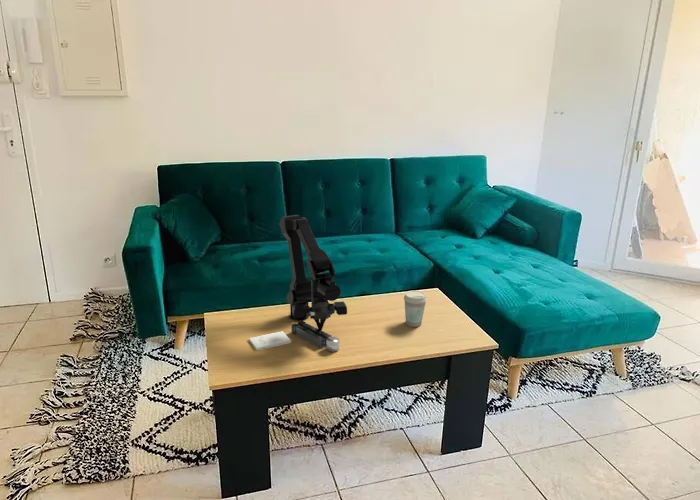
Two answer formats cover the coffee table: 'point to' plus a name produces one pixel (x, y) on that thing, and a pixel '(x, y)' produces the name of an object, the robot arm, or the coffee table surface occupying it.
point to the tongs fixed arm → (308, 335)
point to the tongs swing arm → (330, 341)
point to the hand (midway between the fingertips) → (320, 331)
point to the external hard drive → (269, 340)
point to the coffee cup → (414, 307)
